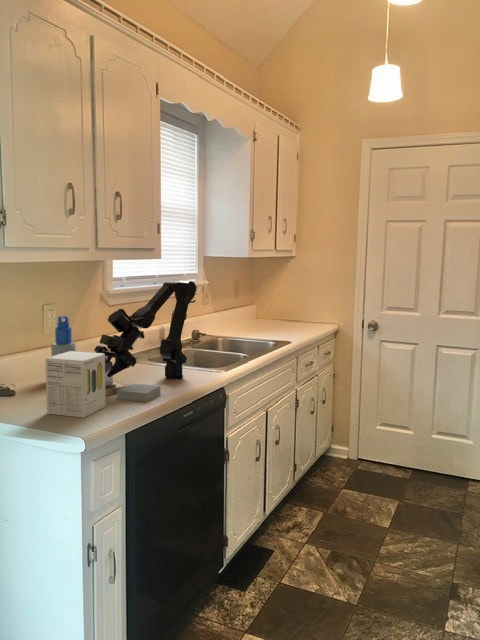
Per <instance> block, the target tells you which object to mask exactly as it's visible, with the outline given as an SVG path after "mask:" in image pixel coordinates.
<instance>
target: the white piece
mask: <svg viewBox="0 0 480 640" xmlns="http://www.w3.org/2000/svg"><path fill="white" fill-rule="evenodd" d="M113 364H114V363H113V361H111V360H108V359H105V386H106V385H111V384H113V382H114V379H113V377H114V375H113V376H111V377H108V376H107V375H108V373H109V371H110V369H111V368H112V366H113Z"/></svg>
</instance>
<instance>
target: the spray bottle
mask: <svg viewBox="0 0 480 640" xmlns="http://www.w3.org/2000/svg"><path fill="white" fill-rule="evenodd" d="M54 333H55V334H54V336H55V341H54V342H53V343H51V346H50V347H51V350H50V351H51V357H52V356H55V355H58V354H62V353H65V352H69V351H77V345H76V342H74V341H72V340H73V337H72V334H73V333H72V327H71V326H70V322H69V316H68V315H65V316H60V315H58V316H57V323H56V327H54Z"/></svg>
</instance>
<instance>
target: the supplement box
mask: <svg viewBox="0 0 480 640" xmlns="http://www.w3.org/2000/svg"><path fill="white" fill-rule="evenodd" d="M45 388H46V391H45V392H46V395H45V397H46V414H49V415H58V416H64V417H65V416H66V417H67V416H68V417H76V418H84V419H85V417H88V416H90V415H92V414H93V413H95V412H97V411H100V410H101V409H103V408H105V407H106V396H105V354H104V353H96V352H88V351H87V352H86V351H77V350H76V351H69V352H65V353H62V354H58V355H55V356H52V355H51V356H49V357H46V358H45Z"/></svg>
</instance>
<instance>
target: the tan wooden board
mask: <svg viewBox="0 0 480 640" xmlns="http://www.w3.org/2000/svg"><path fill="white" fill-rule="evenodd" d="M128 385H129V384H127V383H125V382H121V381H117V380H116V381H113V384H111V385H106V386H105V397H106V396H111V395H117V390H119V389H121V388H123V387H125V386H128Z"/></svg>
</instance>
